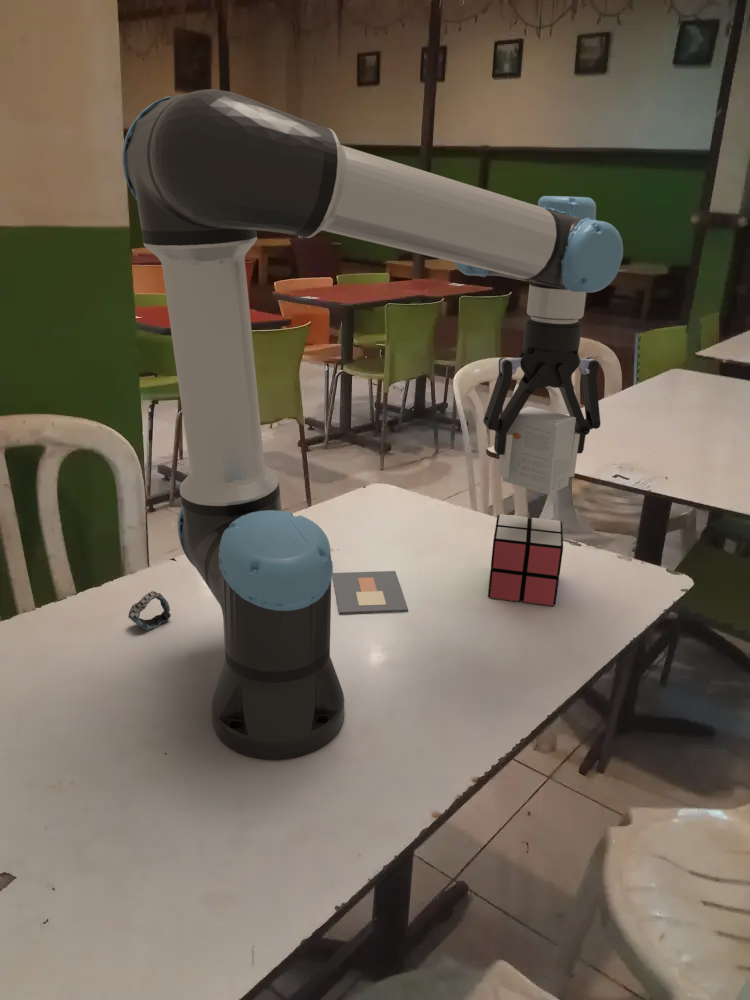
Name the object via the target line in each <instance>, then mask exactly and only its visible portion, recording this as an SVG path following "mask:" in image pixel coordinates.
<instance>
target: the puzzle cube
mask: <svg viewBox="0 0 750 1000" xmlns="http://www.w3.org/2000/svg"><path fill="white" fill-rule="evenodd" d="M563 532H564V531H563V522H562V520H557V519H547V518H538V517H531V518H529V516H521V515H511V514H501V513H499V514H498V515H497V516H496V522H495V528H494V535H493V541H492V551H491V562H490V570H489V571H490V572H489V583H488V591H487V597H488V598H489V599H493V600H499V601H500V600H501V601H510V602H514V603H515V602H516V603H520V602H522V603H523V604H532V605H539V606H540V605H541V606H546V605H548V606H549V607H554V606H556V603H557V597H558V588H559V581H560V574H561V573H560V572H561V567H562V561H563V552H564V536H563V534H564V533H563Z"/></svg>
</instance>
